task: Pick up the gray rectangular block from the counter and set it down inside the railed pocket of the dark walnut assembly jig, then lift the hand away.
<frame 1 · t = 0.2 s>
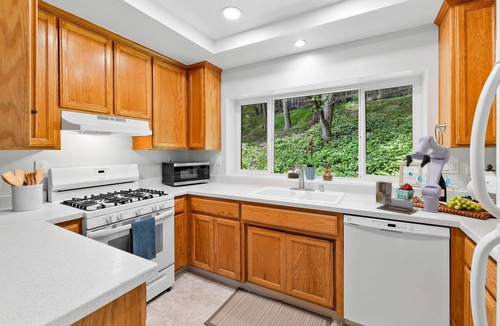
hand: (414, 166, 144), 31 cm above the countertop, tool tilted 45°, fingers open, 7 cm apart
gray rectangular block: (402, 208, 170), on the countertop
jig: (395, 209, 164), on the countertop
coffee box: (383, 203, 185), on the countertop
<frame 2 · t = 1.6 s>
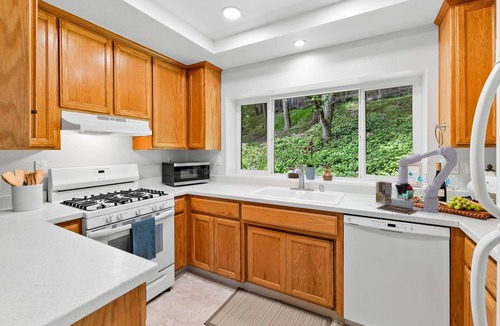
hand: (402, 194, 170), 10 cm above the countertop, tool pointing down, fingers open, 7 cm apart
nothing on the countertop moved.
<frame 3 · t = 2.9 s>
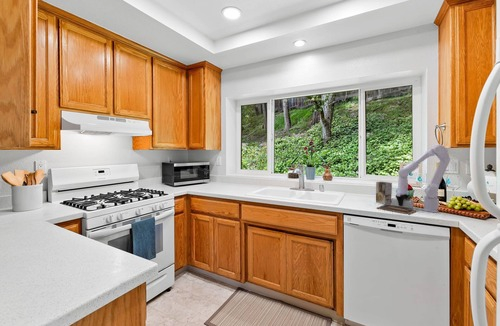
hand: (402, 205, 170), 2 cm above the countertop, tool pointing down, fingers closed on gray rectangular block, 5 cm apart
gray rectangular block: (402, 207, 170), on the countertop, touching gripper
everything else where it was.
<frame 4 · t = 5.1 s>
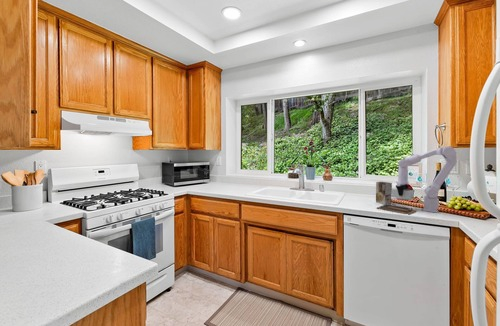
hand: (402, 195, 170), 9 cm above the countertop, tool pointing down, fingers closed on gray rectangular block, 5 cm apart
gray rectangular block: (402, 198, 170), point 7 cm above the countertop, touching gripper
everything else where it was.
when the fingers open (3 cm above the countertop, at t = 7.4 s): gray rectangular block stays where it is, resting on jig.
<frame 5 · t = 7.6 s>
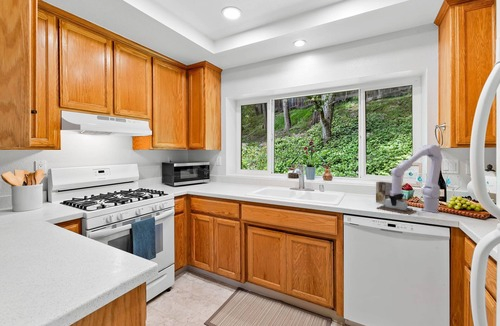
hand: (396, 205, 164), 3 cm above the countertop, tool pointing down, fingers open, 7 cm apart
gray rectangular block: (395, 209, 164), point 1 cm above the countertop, touching jig
everything else where it was.
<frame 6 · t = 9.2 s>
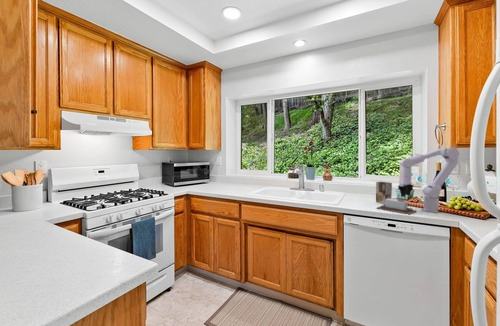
hand: (405, 195, 166), 9 cm above the countertop, tool pointing down, fingers open, 7 cm apart
nothing on the countertop moved.
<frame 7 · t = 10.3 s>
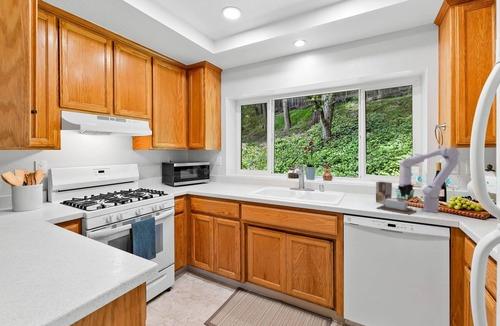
hand: (405, 195, 166), 9 cm above the countertop, tool pointing down, fingers open, 7 cm apart
nothing on the countertop moved.
at the end: gray rectangular block 0.0 cm off-centre on the jig, point 0.6 cm above the jig's base; gray rectangular block tilted 0°; the gripper is holding nothing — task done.
